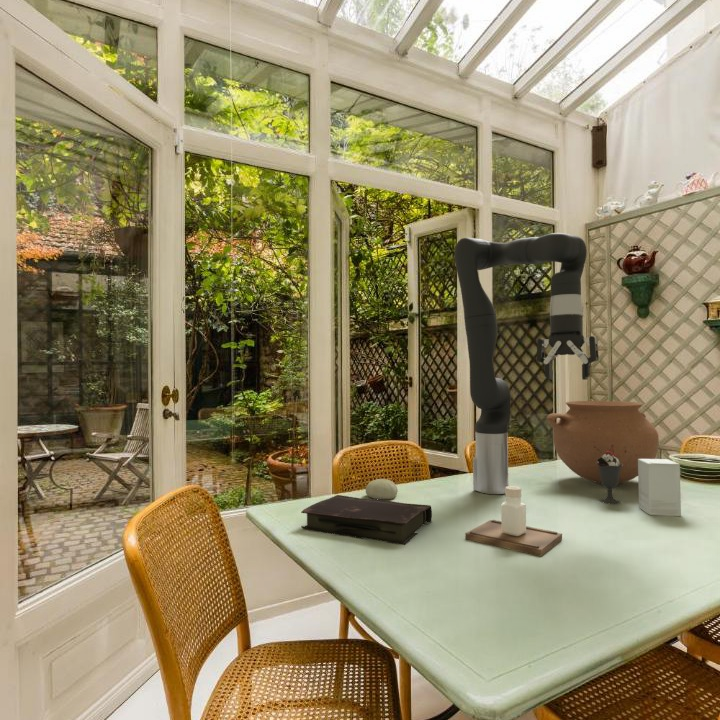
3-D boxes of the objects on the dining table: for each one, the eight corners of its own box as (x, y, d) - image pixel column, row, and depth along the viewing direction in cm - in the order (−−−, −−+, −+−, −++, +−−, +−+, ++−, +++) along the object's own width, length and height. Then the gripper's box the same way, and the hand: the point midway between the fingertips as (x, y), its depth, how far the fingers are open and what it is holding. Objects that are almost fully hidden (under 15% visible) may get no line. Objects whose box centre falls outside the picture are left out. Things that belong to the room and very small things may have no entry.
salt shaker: (509, 529, 109) (509, 484, 109) (527, 533, 106) (526, 487, 106) (500, 533, 106) (499, 487, 106) (518, 537, 103) (517, 490, 104)
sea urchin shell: (403, 487, 146) (396, 471, 141) (397, 511, 141) (389, 496, 136) (374, 484, 150) (366, 468, 145) (367, 508, 145) (358, 492, 140)
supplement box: (682, 516, 121) (680, 463, 122) (648, 515, 123) (647, 463, 123) (669, 508, 129) (668, 458, 129) (638, 507, 130) (637, 457, 130)
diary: (338, 512, 130) (338, 492, 130) (432, 524, 119) (431, 503, 119) (299, 532, 113) (299, 509, 114) (403, 548, 102) (403, 523, 103)
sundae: (621, 499, 138) (620, 444, 138) (625, 505, 131) (624, 447, 132) (595, 497, 140) (594, 443, 140) (598, 503, 134) (596, 446, 134)
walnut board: (465, 538, 107) (465, 531, 107) (490, 525, 116) (490, 518, 116) (541, 556, 96) (541, 548, 96) (562, 539, 106) (561, 532, 106)
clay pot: (589, 498, 139) (587, 407, 140) (528, 476, 168) (527, 401, 169) (691, 490, 147) (689, 404, 148) (616, 471, 176) (615, 399, 177)
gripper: (532, 315, 128) (533, 379, 127) (592, 310, 119) (593, 379, 118) (542, 317, 133) (543, 379, 133) (600, 313, 124) (601, 379, 124)
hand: (567, 379), depth 126 cm, fingers open, 8 cm apart
